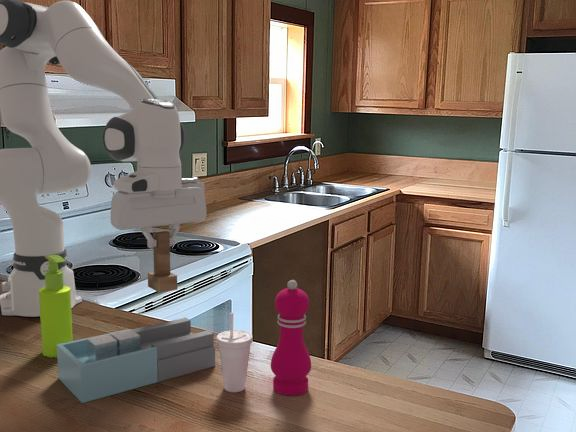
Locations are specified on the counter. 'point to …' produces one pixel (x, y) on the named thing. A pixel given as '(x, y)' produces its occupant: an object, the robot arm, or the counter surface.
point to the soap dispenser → (55, 309)
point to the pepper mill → (291, 342)
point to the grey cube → (127, 341)
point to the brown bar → (162, 265)
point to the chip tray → (104, 371)
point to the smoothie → (234, 357)
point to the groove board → (178, 347)
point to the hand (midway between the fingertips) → (161, 246)
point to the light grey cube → (101, 347)
